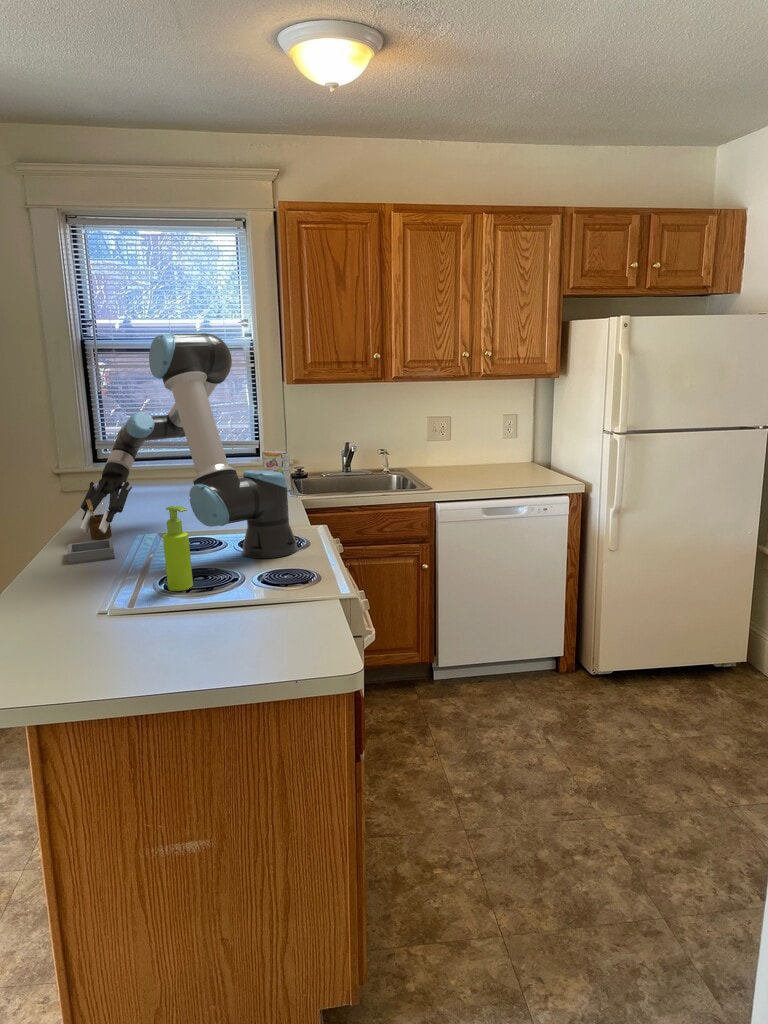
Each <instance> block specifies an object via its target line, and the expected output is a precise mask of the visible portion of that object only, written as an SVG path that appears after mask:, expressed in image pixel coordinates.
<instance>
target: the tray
mask: <svg viewBox="0 0 768 1024" xmlns="http://www.w3.org/2000/svg"><path fill="white" fill-rule="evenodd" d="M113 542H114V540H113V538H109V539H105V540H92V541H83V542H75V543H68V544H67V553H66V554H67V561H68V562H67V563H68V565H73V564H74V565H75V564H82V563H89V562H90V563H91V562H97V561H98V562H100V561H104V560H105V561H106V560H115V558H116V557H115V548H114V543H113Z"/></svg>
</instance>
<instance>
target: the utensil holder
mask: <svg viewBox="0 0 768 1024" xmlns="http://www.w3.org/2000/svg"><path fill="white" fill-rule="evenodd" d="M89 501H90V499H89V500H88V502H87V500H86V502H87V505H88V508H89V510H91V512H92V515H93V516H90V521H91V522H90V524H89V534H90V539H91V540H92V541H100V540H108V539H112V528H111V526H112V525H111V523H109V525H108V528H107V530H106V533H103V532H102V531H101V530H100V529H99V526H100V524H101V521H102V519H103V516H104V513H103V511H102V510H103V507H104V511H106V504H104V503H103V502H100V504H99V505H100V506H101V508H100V509H101V513H97V514H94V512H93V511H92V510H93V506H92V504H91V501H90V503H89ZM88 503H89V504H88ZM90 504H91V505H90ZM103 505H104V506H103ZM89 506H90V507H89Z"/></svg>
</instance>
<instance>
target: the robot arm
mask: <svg viewBox="0 0 768 1024" xmlns="http://www.w3.org/2000/svg"><path fill="white" fill-rule="evenodd" d="M232 358H233V357H232V353H231V350H230V348H229V347H228V345H227V343H225V341H224V340H222V338H220V337H219V336H217V335H214V334H211V333H206V332H205V333H174V332H171V333H162V334H157V335H156V336H155V337H154V338H153V340H152V342H151V343H150V348H149V355H148V365H149V369H150V373H151V374H152V376H153V377H154V378H155V379H158V380H162V382H163V386H164V388H165V389H166V390H168V391H170V392H172V395H173V399H174V404H173V406H172V407H171V409H170V410H169V411H168V413H167V414H165V415H164V414H163V415H153V416H151V414H149V413H146V412H144V411H137V412H134V413H133V414H132V415H131V416H130V417H129V418H128V419H127V421H126V423H125V424H124V425H122V426H121V427H120V429H119V431H118V433H117V435H116V439H115V441H114V443H113V447H112V448H111V450H110V451H111V452H110V453H109V455H108V458H107V461H106V462H105V465H104V468H103V470H102V472H101V478H100V479H99V480H98V482H94V481H90V482H89V487H88V490H87V493H86V495H85V497H84V499H83V501H82V502H81V506H80V509H82V511H83V512H84V514H83V515H82V518H81V520H82V523H81V524H80V525H81V526H80V527H79V528H80V531H82V532H83V533H84V534H88V531H90V527H89V524H90V522H91V521H90V516H93V515H92V512H91V510H89V508H88V505H87V502H88V500H89V499H90V501H91V504H92V506H93V510H92V511H93V513H95V511H96V509H98V507H99V506H100V505H101V504H100V503H102V501H103V500H104V498H106V497H107V496H108V495H109V502H108V507H107V509H105V510H104V512H103V514H104V516H103V519H102V521H101V524H100V526H99V529H100V530H101V531H102V532H103V533H106V530H107V528H108V525H109V523H110V524H111V523H112V522H113V519H114V517H115V515H116V514H117V513H122V512H123V510H124V508H125V505H126V502H127V498H128V495H129V493H130V492H131V490H132V489H133V486H132V485H131V484H130V483H129V481H127V480H128V478H129V475H130V472H131V470H132V467H133V464H134V462H135V460H136V456H137V454H138V452H139V451H140V448H141V447H142V446H143V445H144V443H145V442H147V441H157V440H158V441H159V440H166V439H176V438H178V439H179V438H181V439H182V438H186V439H185V440H186V442H187V445H188V449H189V453H190V456H191V459H192V462H193V465H194V469H195V472H196V475H195V477H194V478H193V481H192V483H193V486H192V487H191V488H190V490H189V504H190V508H191V511H192V512H193V514H194V516H195V517H196V519H197V521H199V522H200V523H201V524H202V525H204V526H205V527H206V526H207V527H209V528H210V527H211V528H212V527H218V526H219V527H223V526H226V525H228V524H234V523H239V522H244V521H246V522H247V528H246V531H245V536H244V539H243V543H242V553H243V555H244V556H246V557H248V558H254V559H272V558H273V559H274V558H281V557H286V556H289V555H293V554H294V553H295V552H297V551H298V545H297V540H296V538H295V534H294V533H293V530H292V528H291V525H290V519H289V517H290V516H289V500H288V491H287V489H288V488H287V483H286V477H285V475H284V474H282V473H280V472H273V471H263V470H254V469H253V470H245V471H243V474H242V477H239V476H238V473H237V469H235V468H234V467H232V466H230V464H229V463H228V459H227V457H226V453H225V450H224V447H223V446H224V445H223V443H222V440H221V437H220V433H219V430H218V427H217V423H216V419H215V418H214V414H213V413H214V412H213V411H212V407H211V404H210V401H209V398H210V396H211V394H212V393H213V392H214V390H215V388H216V387H217V385H219V384H222V383H224V382H225V380H226V378H228V376H229V374H230V372H231V369H232V364H233V363H232V362H233V361H232V360H233V359H232ZM86 500H87V502H86ZM90 501H89V503H90ZM89 503H88V504H89ZM91 504H90V505H91ZM89 507H90V506H89Z"/></svg>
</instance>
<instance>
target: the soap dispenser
mask: <svg viewBox="0 0 768 1024" xmlns="http://www.w3.org/2000/svg"><path fill="white" fill-rule="evenodd" d="M165 510H166V511H169V519H168V520H166V528H167V533H166V534H163V535H162V542H163V544H162V545H163V553H164V561H165V573H166V581H167V582H166V583H167V590H169V591H171V592H183V591H187V590H190V589H191V588H190V587H192V586H193V587H194V582H193V581H194V580H193V573H192V572H193V570H192V559H191V551H190V549H191V548H190V541H189V540H190V539H189V538H190V537H189V533H188V532H185V531H184V532H183V522H182V519H180V518H178V512H179V513H183V512H187V510H188V509H187V508H186V507H184V506H179V505H171V506H167V507H165ZM193 587H192V588H193ZM189 588H190V589H189Z"/></svg>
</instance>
